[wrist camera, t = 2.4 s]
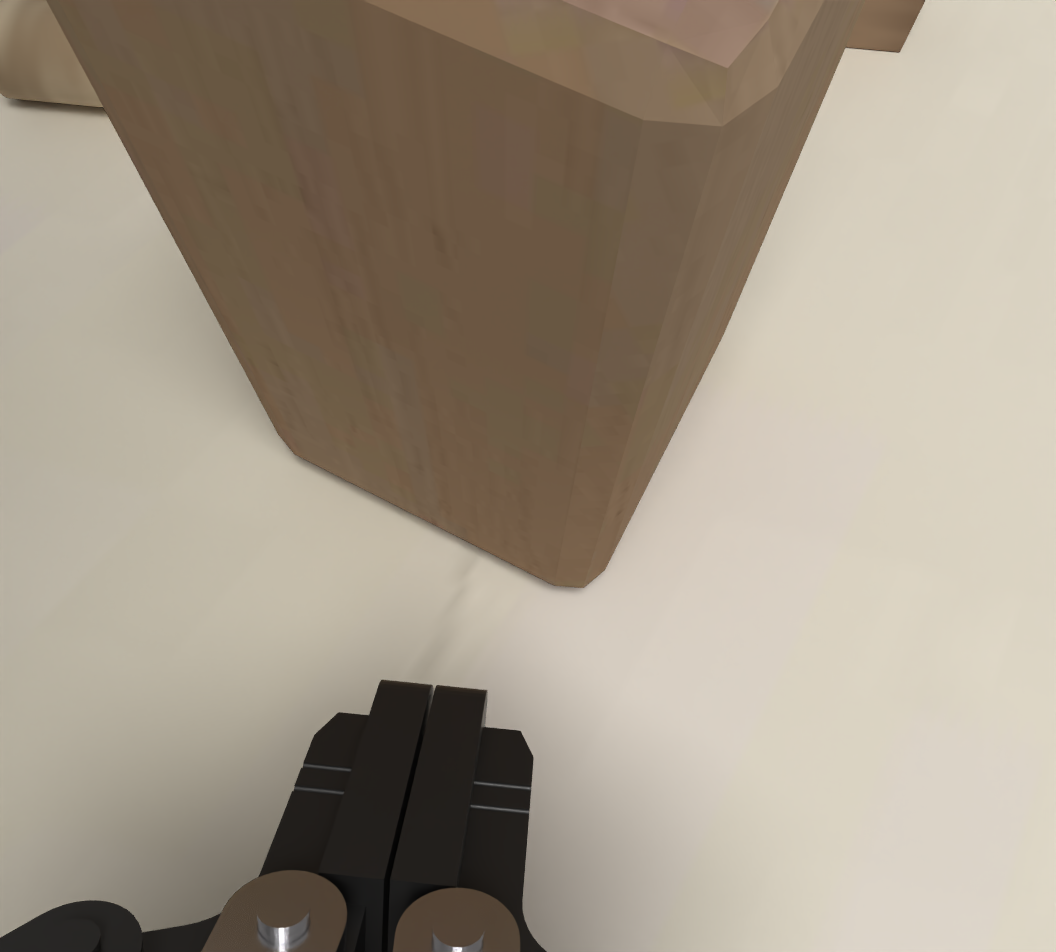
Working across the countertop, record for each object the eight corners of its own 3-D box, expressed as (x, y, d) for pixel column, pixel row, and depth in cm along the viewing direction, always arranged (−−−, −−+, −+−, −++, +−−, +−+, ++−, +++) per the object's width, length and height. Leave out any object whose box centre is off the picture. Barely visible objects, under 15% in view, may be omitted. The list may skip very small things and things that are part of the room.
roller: (-20, 86, 31) (-19, -18, 30) (30, 107, 34) (32, 13, 33) (304, 117, 31) (311, 13, 30) (326, 136, 34) (333, 41, 33)
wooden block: (441, 193, 32) (354, -736, 13) (729, 324, 31) (1087, -512, 12) (271, 451, 29) (-160, -296, 10) (585, 611, 27) (764, 85, 9)
